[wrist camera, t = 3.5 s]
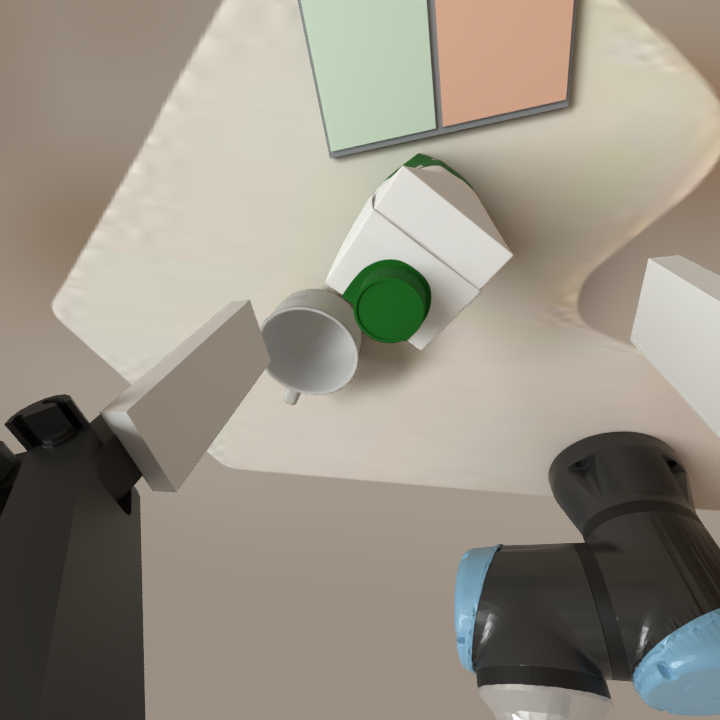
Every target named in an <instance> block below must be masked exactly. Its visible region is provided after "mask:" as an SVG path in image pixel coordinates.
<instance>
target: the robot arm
mask: <svg viewBox="0 0 720 720" xmlns="http://www.w3.org/2000/svg"><path fill="white" fill-rule="evenodd" d="M630 341H631V342H632V343H633V344H634V345H635V346H636V347H637V348H638V349H639V350H640V352H641V353H642V354H643V355H644V356H645V357H646V358H647V359H648V360H649V361H650V362H651V364H652V365H653V366H654V367H655V368H656V369H657V370H658V371H659V372H660V373H661V374H662V376H663V377H664V378H665V379H666V380H667V381H668V382H669V383H670V384H671V385H672V386H673V388H674V389H675V390H676V391H677V392H678V393H679V394H680V395H681V396H682V397H683V399H684V400H685V401H686V402H687V403H688V404H689V405H690V406H691V407H692V408H693V409H694V411H695V412H696V413H697V414H698V415H699V416H700V417H701V418H702V419H703V420H704V421H705V423H706V424H707V425H708V426H709V427H710V428H711V429H712V430H713V431H714V432H715V433H716V435H717V436H718V437H719V438H720V276H719V275H717V274H715V273H713V272H711V271H709V270H707V269H705V268H703V267H701V266H699V265H698V264H696V263H694V262H692V261H690V260H687V259H685V258H684V257H682V256H680V255H675V256H666V257H656V258H649V259H648V263H647V268H646V272H645V277H644V281H643V285H642V290H641V294H640V299H639V303H638V308H637V312H636V316H635V321H634V325H633V329H632V334H631V338H630ZM270 362H271V360H270V357H269V354H268V351H267V349H266V346H265V343H264V340H263V337H262V334H261V331H260V328H259V325H258V322H257V320H256V317H255V314H254V311H253V308H252V305H251V302H250V300H243V301H233V302H231V303H230V304H228V305H227V306H226V307H225V308H224V309H222V310H221V311H220V312H219V313H218V314H216V315H215V316H214V317H213V318H212V319H211V320H209V321H208V322H207V323H206V324H205V325H203V326H202V327H201V328H200V329H199V330H197V331H196V332H195V333H194V334H193V335H191V336H190V337H189V338H188V339H187V340H185V341H184V342H183V343H182V344H181V345H179V346H178V347H177V348H176V349H175V350H173V351H172V352H171V353H170V354H169V355H168V356H166V357H165V358H164V359H163V360H162V361H160V362H159V363H158V364H157V365H156V366H154V367H153V368H152V369H151V370H150V371H148V372H147V373H146V374H145V375H144V376H142V377H141V378H140V379H139V380H138V381H136V382H135V383H134V384H133V385H132V386H131V387H129V388H128V389H127V390H126V391H125V392H123V393H122V394H121V395H120V396H119V397H117V398H116V399H115V400H114V401H113V402H112V403H110V404H109V405H108V406H107V407H106V408H104V409H103V410H102V411H101V412H100V415H99V416H98V417H97V418H95V419H94V420H93V421H92V422H91V423H89V422H88V420H87V419H86V418H85V417H84V415H83V413H82V412H81V411H80V409H79V408H78V407H77V405H76V404H75V402H74V401H73V399H72V398H71V397H70V396H69V395H65V394H64V395H56V396H52V397H49V398H46V399H43V400H40V401H38V402H36V403H33V404H31V405H29V406H27V407H26V408H24V409H22V410H20V411H19V412H17V413H16V414H15V415H14V416H12V417H11V418H10V419H9V420H8V421H7V422H6V423H5V426H6V427H7V428H8V429H9V430H10V431H11V433H12V434H13V435H14V436H15V437H16V438H17V439H18V441H19V442H20V443H21V444H22V445H23V446H24V447H25V449H26V450H27V452H23V453H19V454H14V453H13V452H12V451H11V450H10V449H9V448H8V447H7V446H6V444H5V443H4V442H3V441H0V720H145V694H144V693H145V692H144V649H143V608H142V568H141V567H142V565H141V526H140V525H141V522H140V496H139V493H138V491H137V490H136V488H135V487H134V485H135V484H136V482H137V481H138V480H139V479H140V478H141V476H143V477H144V479H145V480H146V482H147V483H148V485H149V486H150V488H151V489H152V491H164V492H177V491H178V489H179V488H180V487H181V485H182V484H183V482H184V481H185V480H186V478H187V477H188V476H189V474H190V473H191V471H192V470H193V469H194V467H195V466H196V464H197V463H198V462H199V460H200V459H201V457H202V456H203V455H204V453H205V452H206V451H207V449H208V448H209V446H210V445H211V444H212V442H213V441H214V439H215V438H216V437H217V435H218V434H219V432H220V431H221V430H222V428H223V427H224V425H225V424H226V423H227V421H228V420H229V419H230V417H231V416H232V414H233V413H234V412H235V410H236V409H237V407H238V406H239V405H240V403H241V402H242V400H243V399H244V398H245V396H246V395H247V394H248V392H249V391H250V389H251V388H252V387H253V385H254V384H255V382H256V381H257V380H258V378H259V377H260V375H261V374H262V373H263V371H264V370H265V368H266V367H267V366H268V364H269V363H270ZM549 483H550V486H551V489H552V492H553V495H554V497H555V499H556V501H557V503H558V504H559V505H560V507H561V508H562V509H563V511H564V512H565V513H566V515H567V516H568V517H569V518H570V520H571V521H572V522H573V524H574V525H575V526H576V527H577V528H578V530H579V531H580V533H581V534H582V536H583V538H584V541H585V543H564V544H541V545H502V544H498V545H496V546H493V547H485V548H474V549H471V550H469V551H467V552H466V553H465V554H464V555H463V557H462V559H461V561H460V564H459V567H458V572H457V577H456V586H455V629H456V631H457V648H458V654H459V658H460V661H461V663H462V665H463V666H464V667H465V669H467V670H469V671H470V672H471V673H476V675H477V685H478V693H479V695H480V696H481V698H482V699H483V700H484V701H485V702H486V704H487V705H488V706H489V708H490V709H491V710H492V712H493V713H494V715H495V717H496V719H497V720H606V719H607V717H608V715H609V713H610V711H611V710H612V708H613V703H612V700H611V696H610V693H609V690H608V686H607V683H606V681H607V680H620V681H631V682H633V685H634V688H635V691H636V692H637V693H638V694H639V695H640V696H641V698H642V700H643V701H644V702H645V703H646V704H648V705H649V706H650V707H652V708H655V709H657V710H659V711H669V712H670V713H671V714H676V715H687V716H707V715H717V714H720V548H719V547H718V545H717V544H716V543H715V541H714V540H713V538H712V537H711V535H710V534H709V532H708V531H707V530H706V528H705V527H704V525H703V524H702V522H701V521H700V519H699V518H698V516H697V514H696V512H695V507H694V503H693V498H692V493H691V489H690V484H689V480H688V475H687V472H686V470H685V467H684V466H683V464H682V463H681V461H680V460H679V458H678V457H677V456H676V454H675V453H674V451H673V450H672V449H671V448H670V447H669V446H668V445H666V444H665V443H663V442H662V441H660V440H658V439H656V438H653V437H650V436H647V435H643V434H638V433H630V432H613V433H605V434H599V435H595V436H591V437H588V438H585V439H583V440H580V441H578V442H576V443H574V444H572V445H571V446H569V447H567V448H566V449H565V450H563V451H562V452H561V453H560V454H559V455H558V456H557V457H556V458H555V460H554V461H553V463H552V465H551V467H550V470H549Z"/></svg>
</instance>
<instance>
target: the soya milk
mask: <svg viewBox="0 0 720 720" xmlns="http://www.w3.org/2000/svg"><path fill="white" fill-rule="evenodd" d="M512 257H513V254H512V252H511V251H510V249H509V248H508V246H507V244H506V243H505V241H504V240H503V238H502V236H501V235H500V233H499V232H498V230H497V228H496V227H495V225H494V223H493V222H492V220H491V219H490V217H489V215H488V214H487V212H486V210H485V208H484V207H483V205H482V203H481V202H480V200H479V198H478V196H477V195H476V193H475V191H474V190H473V188H472V187H471V185H470V184H469V183H468V182H467V181H466V180H465V179H464V178H463V177H462V176H460V175H459V174H458V173H457V172H455V171H454V170H453V169H451V168H450V167H448V166H447V165H446V164H445V163H443V162H442V161H440V160H437V159H434V158H431V157H428V156H425V155H422V154H419V153H418V154H417V155H416V156H414V157H413V158H412V159H410V160H409V161H408V162H406V163H405V164H404V165H403V166H401V167H400V168H399V169H397V170H396V171H395V172H394V173H393V174H391V175H390V176H389V177H388V178H387V179H386V180H385V181H384V182H383V183H382V184H381V185H380V186H379V188H378V189H377V190H376V191H375V193H374V192H373V194H372V195H371V197H370V198H369V200H368V201H367V203H366V204H365V206H364V208H363V209H362V211H361V213H360V214H359V216H358V218H357V219H356V221H355V223H354V224H353V226H352V228H351V230H350V232H349V234H348V235H347V237H346V239H345V241H344V243H343V245H342V247H341V249H340V251H339V253H338V255H337V257H336V259H335V261H334V264H333V266H332V268H331V270H330V272H329V275H328V277H327V279H326V284H327V285H329V286H330V287H332V288H333V289H335V290H336V291H338V292H339V293H341V294H342V297H343V298H344V299H346V300H347V301H348V302H350V303H351V304H353V305H354V306H353V312H354V317H355V320H356V322H357V324H358V326H359V327H360V329H361V330H362V331H363V332H364V333H365V334H366V335H368V336H369V337H371V338H372V339H374V340H377V341H380V342H385V343H395V342H400V341H403V340H404V341H408V342H410V343H411V344H412V345H414V346H415V347H417V348H418V349H420V350H423V349H424V348H425V347H426V346H427V345H428V344H429V343H430V342H431V341H432V340H433V339H434V338H435V337H436V336H437V335H438V334H439V333H440V332H441V331H442V330H443V329H444V328H445V327H446V326H447V325H448V324H449V323H450V322H451V321H452V320H453V319H454V318H455V317H456V316H457V315H458V314H459V313H460V312H461V311H462V310H463V309H464V308H465V307H466V306H468V305H469V304H470V303H471V302H472V301H473V300H474V299H475V298H476V297H477V296H478V295H479V294H480V292H481V290H482V287H483V286H484V285H485V284H486V283H487V282H488V281H489V280H490V279H491V278H492V277H493V276H494V275H495V274H496V273H497V272H498V271H499V270H500V269H501V268H502V267H503V266H504V265H505V264H506V263H507V262H508V261H509V260H510V259H511V258H512Z"/></svg>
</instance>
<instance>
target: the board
mask: <svg viewBox="0 0 720 720" xmlns="http://www.w3.org/2000/svg"><path fill="white" fill-rule="evenodd" d="M298 4H299V9H300V14H301V19H302V24H303V28H304V33H305V38H306V43H307V48H308V53H309V58H310V63H311V67H312V72H313V77H314V82H315V87H316V92H317V97H318V102H319V107H320V111H321V116H322V121H323V126H324V131H325V136H326V141H327V146H328V151H329V155H330V158H334V157H339V156H343V155H348V154H352V153H357V152H361V151H366V150H371V149H375V148H380V147H384V146H389V145H394V144H398V143H403V142H407V141H412V140H417V139H421V138H426V137H430V136H435V135H440V134H444V133H449V132H453V131H458V130H463V129H467V128H472V127H476V126H481V125H486V124H490V123H495V122H499V121H504V120H509V119H513V118H518V117H522V116H527V115H532V114H536V113H541V112H545V111H550V110H555V109H559V108H564V107H568V106H569V94H570V82H571V70H572V57H573V45H574V33H575V21H576V8H577V0H298Z"/></svg>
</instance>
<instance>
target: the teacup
mask: <svg viewBox="0 0 720 720" xmlns="http://www.w3.org/2000/svg"><path fill="white" fill-rule="evenodd" d="M260 331H261V334H262V337H263V340H264V343H265V346H266V349H267V351H268V354H269V357H270V360H271V362H270V363H269V364H268V366H267V367H266V368H265V370H266V372H268V374H269V375H270V376H271V377H272V378H273V379H274V380H276V381H277V382H278V383H280V384H282V385H283V386H285V387H286V388H287V390H286V393H285V395H284V399H283V400H284V402H285V403H287V404H290V405H295V404H296V402H297V400H298V398H299V396H300V394H301V393H303V394H311V395H324V394H329V393H332V392H335V391H337V390H339V389H341V388H343V387H344V386H345V385H346V384H348V383H349V382H350V381H351V379H352V378H353V377H354V375H355V373H356V371H357V368H358V363H359V353H360V347H361V338H362V337H361V329H360V327H359V326H358V324H357V322H356V320H355V317H354V312H353V309H352V307H351V306H350V305H349V304H348V303H347V302H346V301H345V300H343V299H342V298H341V297H339V296H338V295H336V294H334V293H331V292H329V291H325V290H320V289H308V290H302V291H299V292H296V293H294V294H292V295H290V296H289V297H287V298H286V299H285V300H284V301H283V302H282V303H281V304H280V305H279V306H278V307H277V308H276V309H275V310H274V312H273V313H272V314H271V315H270V316H269V317H268V318H267V319H266V320H265V321H264V322H263V324H262V325H261V327H260Z"/></svg>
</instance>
